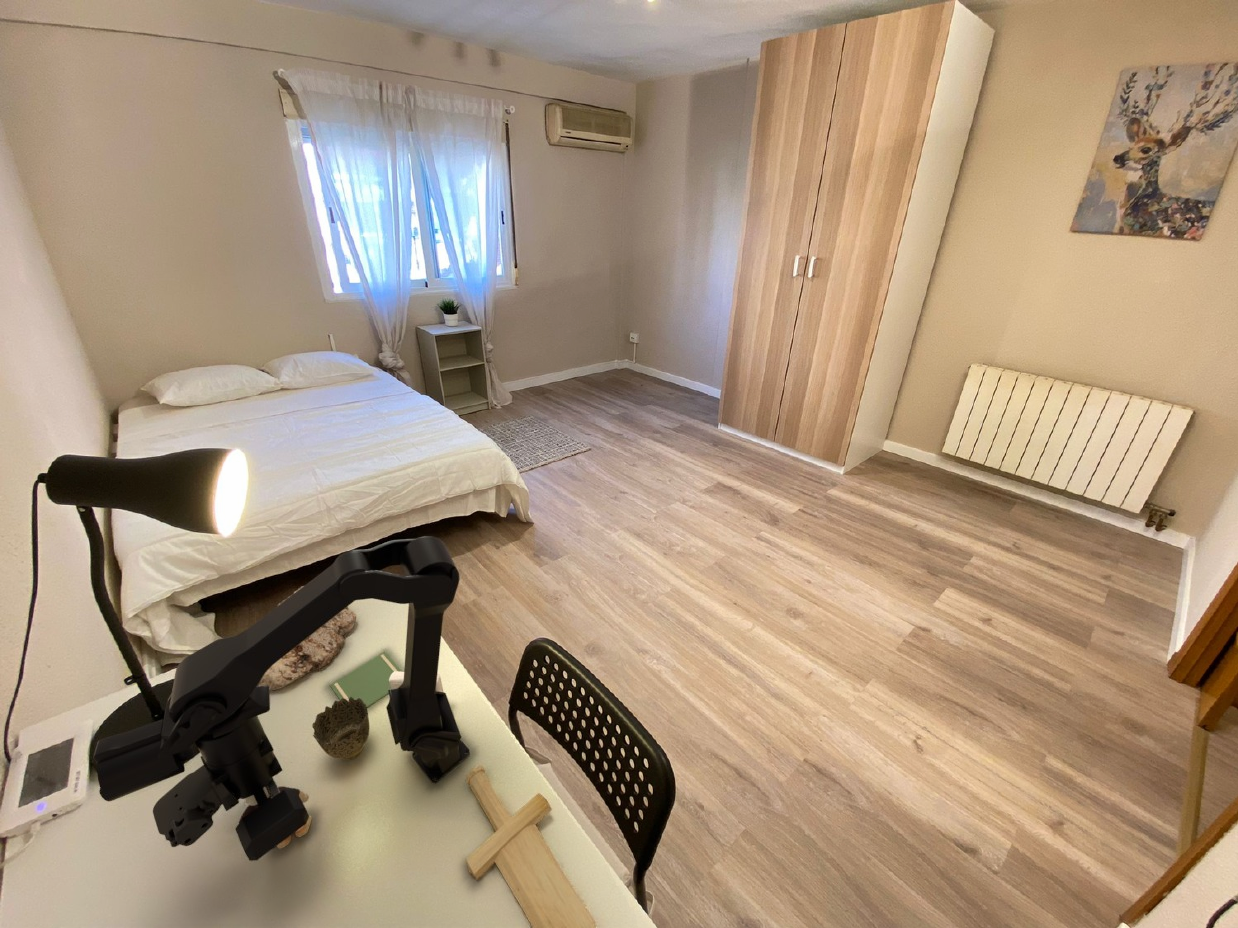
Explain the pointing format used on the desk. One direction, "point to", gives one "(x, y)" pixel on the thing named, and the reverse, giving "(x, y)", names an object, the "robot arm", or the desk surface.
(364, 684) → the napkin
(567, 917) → the toy sword
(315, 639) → the stone
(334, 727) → the cup
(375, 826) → the desk surface
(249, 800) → the grandmother figurine
